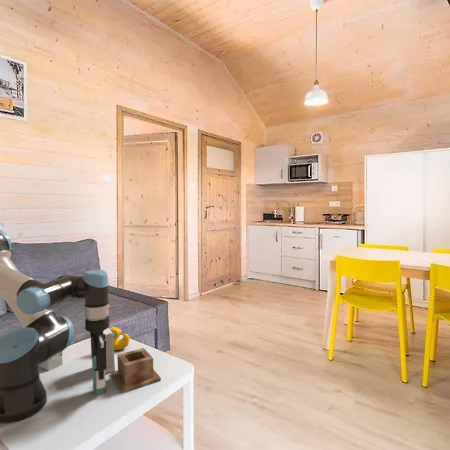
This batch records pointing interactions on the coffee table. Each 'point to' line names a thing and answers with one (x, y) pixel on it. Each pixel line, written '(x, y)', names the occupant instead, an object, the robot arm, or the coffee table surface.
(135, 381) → the socket
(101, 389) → the peg
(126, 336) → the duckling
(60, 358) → the skincare box
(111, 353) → the skincare box
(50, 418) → the coffee table surface
